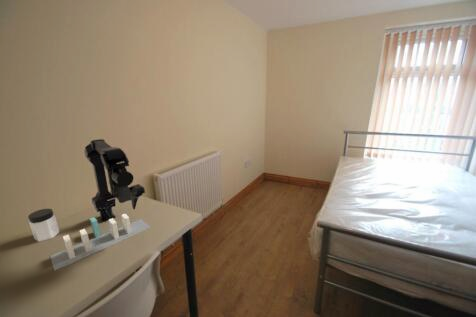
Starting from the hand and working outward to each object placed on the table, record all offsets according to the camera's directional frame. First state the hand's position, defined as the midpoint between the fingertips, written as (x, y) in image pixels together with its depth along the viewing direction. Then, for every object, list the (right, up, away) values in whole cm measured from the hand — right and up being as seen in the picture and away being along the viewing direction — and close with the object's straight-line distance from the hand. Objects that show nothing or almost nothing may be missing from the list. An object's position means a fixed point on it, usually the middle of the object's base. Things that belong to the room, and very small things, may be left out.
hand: (122, 213), depth 89 cm
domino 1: (-19, -16, -4) cm, 25 cm away
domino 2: (-15, -15, 0) cm, 21 cm away
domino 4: (-8, -13, +8) cm, 17 cm away
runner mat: (-11, -14, +5) cm, 18 cm away
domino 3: (-17, -12, +9) cm, 23 cm away
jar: (-40, -13, +8) cm, 43 cm away
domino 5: (-4, -11, +12) cm, 17 cm away
